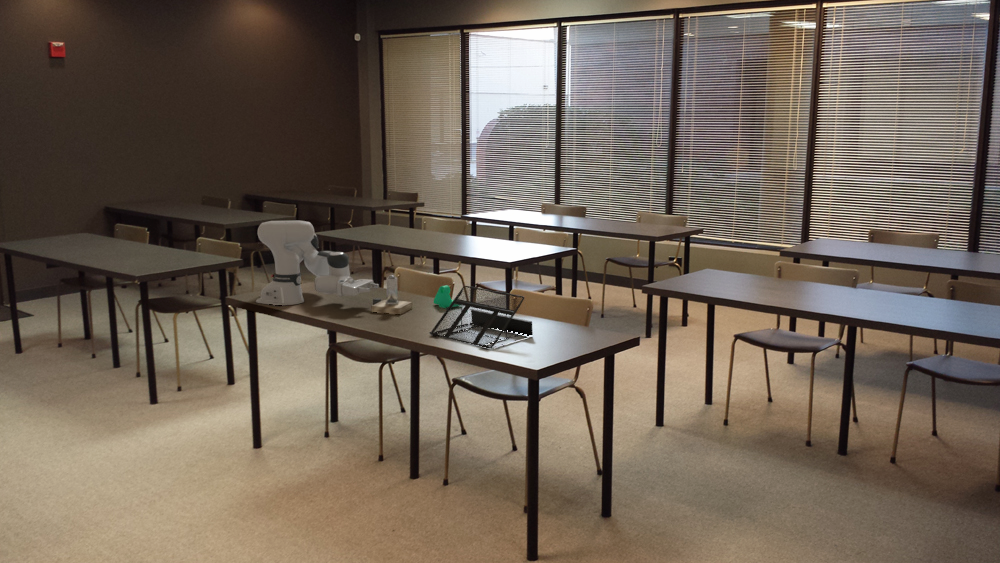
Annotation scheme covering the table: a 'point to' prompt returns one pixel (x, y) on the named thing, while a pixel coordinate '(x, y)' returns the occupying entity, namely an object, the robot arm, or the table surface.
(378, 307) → the wooden stand
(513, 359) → the table surface
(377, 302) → the rubber grommet
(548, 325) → the table surface
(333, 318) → the table surface
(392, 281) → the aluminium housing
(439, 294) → the green toy figure
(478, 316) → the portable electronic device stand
